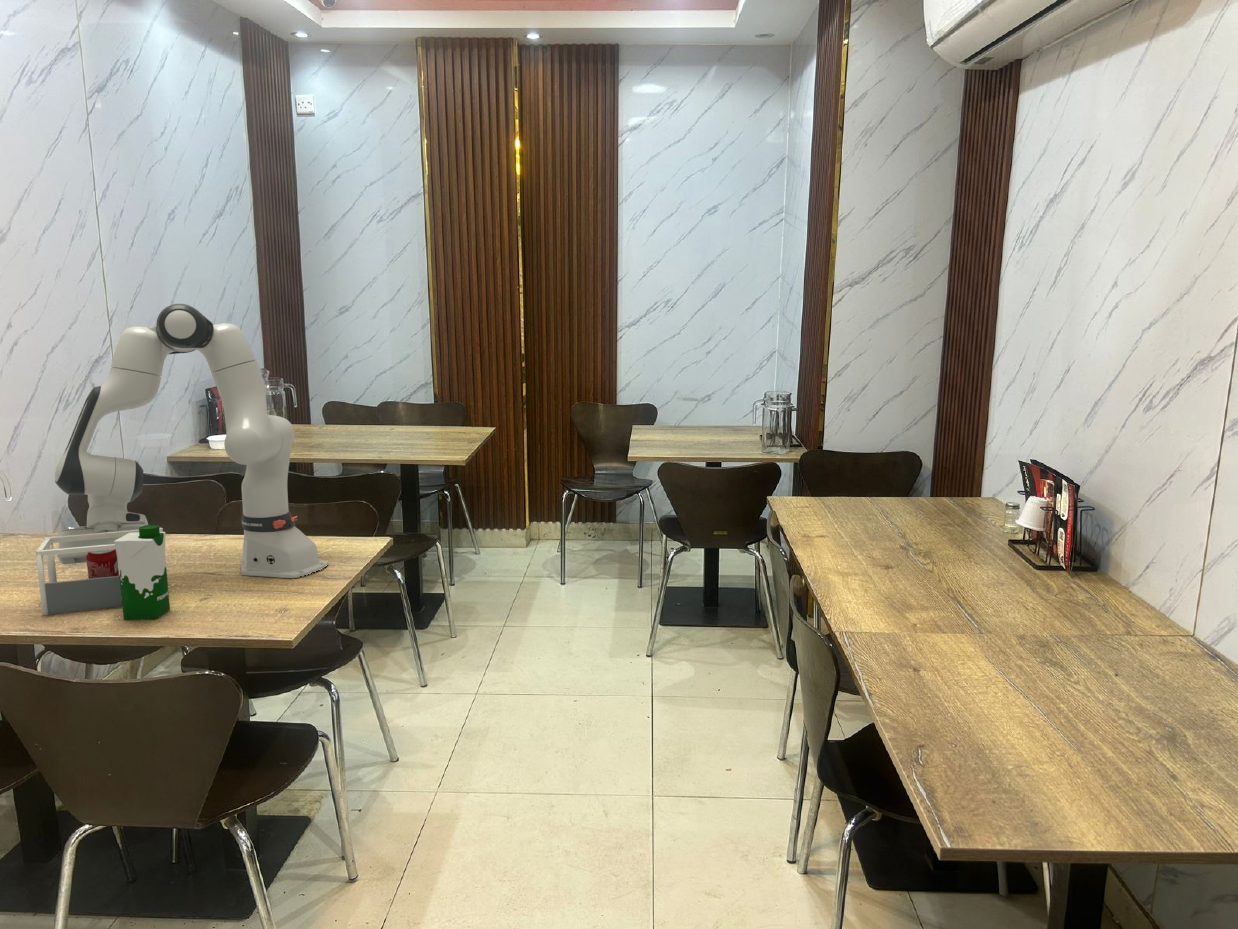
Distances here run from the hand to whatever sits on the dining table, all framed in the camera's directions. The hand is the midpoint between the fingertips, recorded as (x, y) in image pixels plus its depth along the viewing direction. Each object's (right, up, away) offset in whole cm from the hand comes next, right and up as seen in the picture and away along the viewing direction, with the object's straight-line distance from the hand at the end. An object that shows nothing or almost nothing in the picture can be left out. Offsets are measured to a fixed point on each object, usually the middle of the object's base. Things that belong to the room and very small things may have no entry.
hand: (106, 574), depth 219 cm
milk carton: (+16, -8, -13) cm, 22 cm away
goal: (+2, -5, -3) cm, 7 cm away
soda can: (+1, -5, -1) cm, 5 cm away
